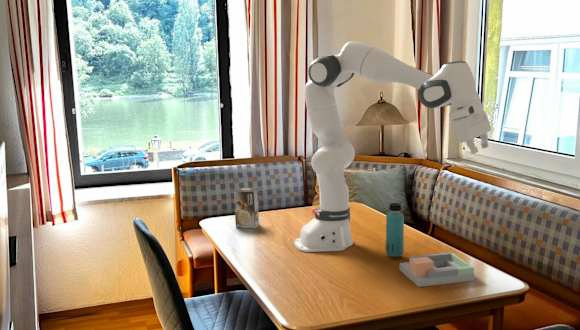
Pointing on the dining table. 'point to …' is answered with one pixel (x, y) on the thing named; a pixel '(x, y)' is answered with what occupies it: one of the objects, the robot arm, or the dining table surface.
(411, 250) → the dining table surface
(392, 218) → the beverage bottle
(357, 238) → the dining table surface
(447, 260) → the tray
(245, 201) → the coffee box
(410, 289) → the dining table surface
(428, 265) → the block
